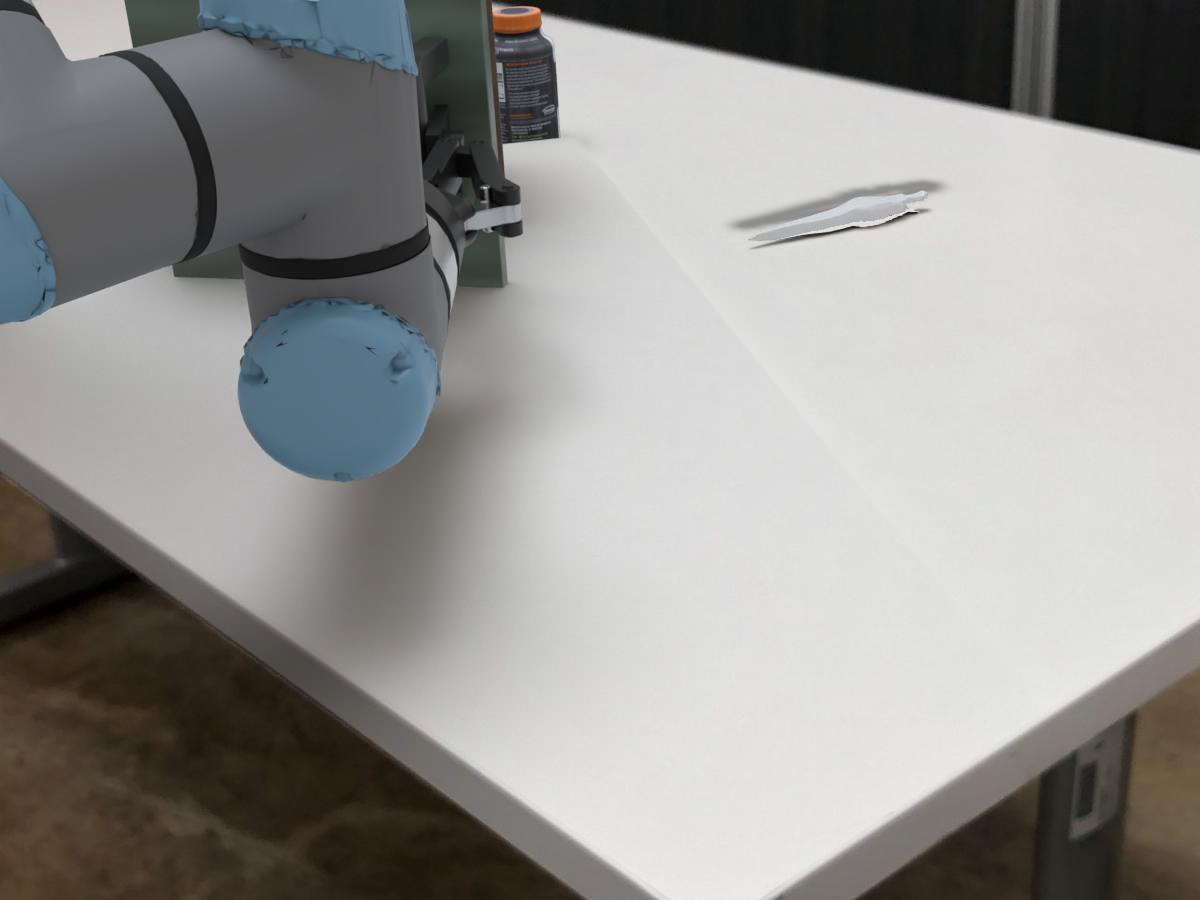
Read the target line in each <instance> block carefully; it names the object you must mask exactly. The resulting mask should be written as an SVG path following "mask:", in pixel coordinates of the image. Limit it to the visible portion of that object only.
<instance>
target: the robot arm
mask: <svg viewBox="0 0 1200 900" xmlns="http://www.w3.org/2000/svg"><path fill="white" fill-rule="evenodd" d="M199 4H200V13H199V15H198V17H197V20H198V24H199V27H200V28H201V30H202V31H201V33H197V34H192V35H188V36H184V37H179V38H175V39H171V40H166V41H162V42H157V43H153V44H149V45H144V46H140V47H136V48H133V47H132V48H131V47H130V48H127V49H123V50H122V49H121V50H117V51H112V52H108V53H104V54H99V55H98V56H97V57H90V58H85V59H78V60H77V59H76V60H71V59H69V58H68V57H66V55H65V53H64V52H63V50H62V48H61V46H60V45H59V41H58V40H57V39H56V37H55V36H54V33H53V31H52V30H51V29H50V28H49V27H48V26H47V24H45V21H44V19H43V18H42V17H41V14H40V13H39V11H38V9H37V7H36V5H35V4H34V3H33V1H32V0H0V326H2V325H3V326H4V325H6V324H10V323H22V322H23V323H24V322H26V321H30V320H32V319H34V318H36V317H37V316H40V315H42V314H44V313H46V312H47V311H48V310H51V309H53V308H56V307H59V306H62V305H63V304H64V305H65V304H67V303H69V302H72V301H75V300H78V299H80V298H84V297H87V296H88V295H91V294H92V295H93V294H94V293H97V292H99V291H103V290H105V289H107V288H110V287H113V286H117V285H119V284H122V283H125V282H128V281H130V280H134V279H135V278H138V277H141V276H144V275H147V274H149V273H152V272H155V271H158V270H160V269H162V268H165V267H170V266H171V267H172V265H175V264H179V263H182V262H184V261H187V260H191V259H194V258H197V257H200V256H203V255H206V254H209V253H213V252H216V251H219V250H222V249H225V248H228V247H231V246H234V245H237V244H238V247H239V253H240V258H241V260H242V267H243V275H244V279H243V281H244V288H245V294H246V300H247V305H248V312H249V318H250V326H251V335H250V336H249V337H248V338H247V341H246V342H245V343H244V345H243V347H242V348H243V353H244V354H243V355H242V356H241V358H240V359H239V368H240V371H239V375H238V381H237V400H238V406H239V410H240V414H241V418H242V420H243V422H244V425H245V427H246V429H247V430H248V432H249V434H250V436H251V437H252V438H253V440H254V441H255V442H256V443H257V445H258V446H259V447H260V449H262V451H263V452H264V453H265V454H266V455H268V456H269V457H270V458H271V459H272V460H273V461H274V462H276V463H278V464H279V465H280V466H282V467H284V468H286V469H288V470H289V471H291V472H293V473H295V474H298V475H301V476H303V477H306V478H309V479H314V480H318V481H325V482H338V483H339V482H340V483H347V482H353V481H355V482H356V481H361V480H365V479H369V478H372V477H374V476H377V475H379V474H381V473H384V472H386V471H387V470H389V469H391V468H393V467H395V466H396V465H397V464H398V463H400V462H401V461H403V459H404V458H406V457H407V455H408V454H409V453H411V451H412V450H413V449H414V448H415V446H416V445H417V444H418V442H419V440H420V439H421V437H422V436H423V433H424V431H425V429H426V426H427V423H428V420H429V417H430V416H431V414H432V411H433V410H434V408H435V407H437V406H436V405H437V398H438V397H439V396H441V389H442V383H441V368H442V363H443V357H444V352H445V346H446V341H447V335H448V328H449V325H450V318H451V313H452V309H453V306H454V305H453V304H454V300H455V295H456V292H457V291H456V290H457V287H458V286H457V282H458V278H459V273H460V268H461V263H462V258H463V252H464V248H465V247H466V246H468V245H470V244H471V243H473V242H474V240H475V239H476V237H477V230H479V229H483V231H484V232H486V233H490V232H493V231H494V232H496V233H497V234H499V235H501V236H503V237H504V238H509V239H510V238H511V239H512V238H516V237H519V236H520V237H521V235H523V234H524V226H523V214H522V213H523V212H522V196H521V195H522V193H521V186H520V185H518V184H517V183H515V182H513V181H511V180H510V179H507V178H506V177H505V178H504V176H503V173H502V171H501V168H500V166H499V163H498V160H497V158H496V155H495V152H494V150H493V147H492V144H491V142H490V140H487V139H485V138H477V139H475V140H471V141H469V147H466V146H465V143H464V132H463V131H462V130H450V123H449V112H448V104H443V105H435V107H434V110H433V113H432V116H431V119H430V122H429V126H428V129H427V132H426V135H425V138H426V148H427V159H426V161H425V162H424V164H423V166H422V159H421V145H420V130H419V115H418V101H417V86H416V77H417V76H418V68H417V64H416V62H415V57H414V51H413V45H412V39H411V33H410V26H409V19H408V13H407V11H406V8H405V3H404V0H199ZM462 178H472V186H473V189H474V193H475V196H476V199H475V201H474V202H475V205H474V206H473V205H472V204H471V203H470V202H469V201H467V200H465V199H462V198H460V197H458V196H456V195H458V194H461V195H463V186H462Z"/></svg>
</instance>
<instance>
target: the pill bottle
mask: <svg viewBox="0 0 1200 900" xmlns="http://www.w3.org/2000/svg"><path fill="white" fill-rule="evenodd" d="M492 11H493V24H494V37H495V51H496V64H497V77H498V90H499V103H500V117H501V130H502V143H503V145H509V144H517V143H528V142H536V141H544V140H545V141H547V140H554V139H555V140H556V139H561V138H562V135H561V121H560V105H559V92H558V91H559V90H558V75H557V61H556V47H555V42H554V40H553V38H552V37H551V36H550V35H549V34H547V33H545V32H543V30H542V25H543V21H542V12H541V9H540V8H539V7H535V6H526V5H525V6H524V5H522V6H521V5H519V6H508V7H502V8H498V9H495V10H492Z"/></svg>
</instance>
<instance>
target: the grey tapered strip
mask: <svg viewBox="0 0 1200 900" xmlns="http://www.w3.org/2000/svg"><path fill="white" fill-rule="evenodd" d="M928 197H929V193H928V192H927V191H926V190H923V189H922V190H919V191H918V192H914V193H909V194H904V193H902V192H901V193H897V194H894V195H886V196H858V197H854V198H851V199H849V200H848V201H845V202H844V203H843V204H841V205H838V206H836V207H833V208H830V209H829V210H825V211H821V212H818V213H815V214H814V213H813V214H812V215H808V216H804V217H801V218H798V219H795V220H791V221H788V222H785V223H781V224H779V225H776V226H773V227H771V228H768V229H765V230H763V231H760V232H757V233H754V234H753V235H751V236H749V237H748V238H747V240H748V241H751V242H753V241H754V242H767V241H778V240H777V239H781V238H785V237H786V238H787V237H790V236H794V235H798V234H802V233H807V232H811V231H818V230H822V229H823V230H824V229H827V228H830V227H835V226H840V225H845V224H849V223H852V222H860V221H863V222H866V221H875V220H878V219H879V220H880V219H884V218H886V217H888V216H892V215H894V214H899V213H902V212H905V210H906V209H909V208H910V207H909V206H907V205H908V204H914V203H916V202H923V201H925V199H928ZM908 207H909V208H908Z"/></svg>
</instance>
